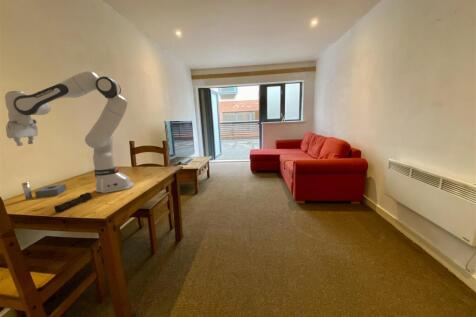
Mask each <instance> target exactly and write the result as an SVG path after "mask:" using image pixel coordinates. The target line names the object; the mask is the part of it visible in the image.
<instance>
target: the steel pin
mask: <svg viewBox="0 0 476 317" xmlns="http://www.w3.org/2000/svg"><path fill="white" fill-rule="evenodd" d="M21 186H22V191H23V194H24V198H25V201H27V200H28V199H29V200H31V199H33V194H32V190H31V186H30V182H28V181H26V182H22V183H21Z"/></svg>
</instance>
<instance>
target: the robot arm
mask: <svg viewBox="0 0 476 317" xmlns="http://www.w3.org/2000/svg"><path fill="white" fill-rule="evenodd" d="M93 91H98V92H99V94H101V95H102V96H104V98H105V99H107V101H106V104H105V106H104V107H103V108H102V109H103V110H102V112H101V114H100V115H99V117H98V119H97V121H96V122H95V123H93V126H92V127H91V129H90V130H89V132H88V133H87V134H86V135H85V138H84V141H85V144H86V145H87V146H88V147H90V148H91V149H92V148H93V156H92V160H93V166H94V176H95V180H96V181H95V182H96V186H95V192H97V193H102V194H106V193H112V192H118V191H123V190H130V189H131V188H133V187H134V186H135V183H134V181H131V179H130V177H129V176H128V175H127V174H124V173H122V172H120V169H119V166H115V160H114V141H113V140H114V139H113V138H114V137H113V134H114V132H115V131H116V130H117V128H118V127H119V125H120V123H121V122H122V119H123V117H124V115H125V113H126V110H127V106H128V101H127V99H126V98H125V97H124V96H122V95H121V92H122V88H121V85H120V84H119V83H118V82H117V81H116V80H115V79H113V78H111V77H109V76H105V75H104V76H99V75H97V73H95V72H94V71H91V70H85V71H83V72H79V73H77V74H75V75H72V76H70V77H68V78H67V79H65V80H63V81H60V82H58V83H57V84H55V85H52V86H49V87H47V88H44V89H42V90H39V91H38V92H34V93H32V94H28V93H26V92H25V91H21V90H12V91H8V92H6V93H5V94H4V95H5V96H4V101H5V108H6V110H7V111H8V114H7V117H8V122H7V124H6V126H5V131H6V137H7V138H8V139H13V140H14V142H15V143H16V146H17V147H22V146H23V145H24V144H23V142H22V141H21V138H27V139H28V141H27V143H28V145H33V144H34V137H37V136H38V134H39V131H38V130H39V129H38V126H37V123H38V121H37V120H36V119H34V118H33V117H32V115H33V116H37V115H38V116H43V115H47V114H49V113H50V111H51V105H50V102H53V101H56V100H57V99H58V100H59V99H63V98H64V99H65V98H68V99H69V98H70V99H72V98H75V99H76V98H79V97H83V96H85V95H87V94H89V93H91V92H93Z"/></svg>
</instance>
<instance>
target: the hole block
mask: <svg viewBox="0 0 476 317" xmlns="http://www.w3.org/2000/svg"><path fill="white" fill-rule="evenodd" d="M66 184H67V183H65V184H64V183H62V184H54V185H45V186H43V187H41V188H39V189H37V190H36V191H34V194H35V198H36V199H38V198H47V197H53V196H54V197H55V196H60V195H61V194H63V193H64V192H65V191H67V185H66Z"/></svg>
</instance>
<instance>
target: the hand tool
mask: <svg viewBox="0 0 476 317" xmlns="http://www.w3.org/2000/svg"><path fill="white" fill-rule="evenodd" d="M91 199H93V196H92V193H90V192H89V191H88V192H84V193H82V194H80V195H79V196H78V197H75V198H74V199H71V200H69V201H65V202H63V203H60V204H58V205H54V206H53V208H54V211H55V212H56V213H61V212H64V211H65V210H67V209H70V208H72V207H74V206H76V205H80V204H81V203H86V202H88V201H90V200H91Z"/></svg>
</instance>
